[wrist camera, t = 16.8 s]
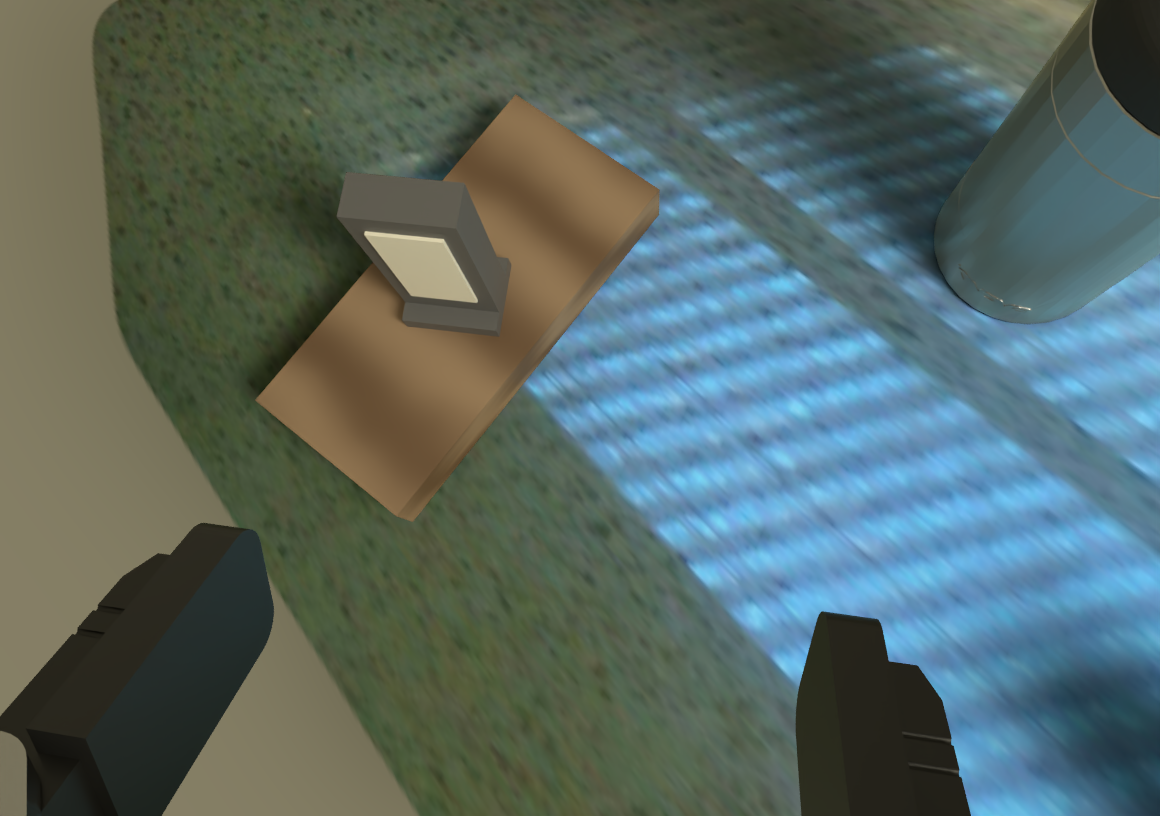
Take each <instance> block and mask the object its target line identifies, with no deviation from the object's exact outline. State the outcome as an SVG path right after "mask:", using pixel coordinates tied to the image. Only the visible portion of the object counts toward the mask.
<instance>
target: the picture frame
mask: <svg viewBox="0 0 1160 816" xmlns="http://www.w3.org/2000/svg"><path fill="white" fill-rule="evenodd" d="M337 218H338V219H339V221H340V222H341V223H342V224H343V225H344V227H345V228H346V229H347V230H348V232H349V233H350V234H351V235H352V237H353V238H354V239H355V240H356V242H357V243H358V244H359V245H360V247H361V248H362V249H363V250H364V252H365V253H366V254H367V255H368V256H369V258H370V259H371V260H372V261H373V263H374V264H375V265H376V266H377V268H378V269H379V270H380V271H381V273H382V274H383V275H384V276H385V278H386V279H387V280H388V281H389V282H390V284H391V285H392V286H393V287H394V289H395V290H396V291H397V292H398V294H399V295H400V296H401V297H402V299H403V300H404V301H405V306H404V312H403V317H402V321H403V322H404V323H405V325H406V326H408V327H417V328H426V329H434V330H443V331H452V332H461V333H470V334H479V335H488V336H497V337H499V336H500V330H501V324H502V319H503V313H504V307H505V301H506V295H507V289H508V283H509V277H510V271H511V263H510V261H509V258H503V257H497V256H496V254H495V251H494V249H493V247H492V244H491V242H490V240H489V238H488V235H487V233H486V231H485V229H484V226H483V224H482V222H481V219H480V217H479V215H478V213H477V210H476V208H475V206H474V204H473V201H472V199H471V197H470V194H469V192H468V190H467V188H466V185H465V183H460V182H449V181H438V180H427V179H416V178H405V177H395V176H384V175H373V174H362V173H351V172H346V175H345V180H344V185H343V189H342V194H341V198H340V203H339V207H338V212H337Z"/></svg>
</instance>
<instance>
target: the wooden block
mask: <svg viewBox="0 0 1160 816" xmlns="http://www.w3.org/2000/svg"><path fill="white" fill-rule="evenodd" d="M442 181H449V182H460V183H465V185H466V188H467V190H468V192H469V194H470V197H471V199H472V201H473V204H474V206H475V208H476V210H477V213H478V215H479V217H480V219H481V222H482V224H483V226H484V229H485V231H486V233H487V235H488V238H489V240H490V242H491V244H492V247H493V249H494V251H495V254H496V256H497V257H503V258H509V261H510V263H511V271H510V277H509V283H508V289H507V295H506V301H505V307H504V313H503V319H502V324H501V330H500V336H499V337H497V336H488V335H479V334H470V333H461V332H452V331H443V330H434V329H426V328H417V327H408V326H406V325H405V323H404V322H403V321H402V317H403V312H404V306H405V301H404V300H403V299H402V297H401V296H400V295H399V294H398V292H397V291H396V290H395V289H394V287H393V286H392V285H391V284H390V282H389V281H388V280H387V279H386V278H385V276H384V275H383V274H382V273H381V271H380V270H379V269H378V268H377V266H376V265H375V264H374V263H372V264H371V265H370V266H369V267H368V268H367V270H366V271H365V272H364V273H363V274H362V275H361V277H360V278H359V279H358V280H357V281H356V283H355V284H354V285H353V286H352V287H351V288H350V290H349V291H348V292H347V293H346V294H345V295H344V297H343V298H342V299H341V300H340V301H339V302H338V304H337V305H336V306H335V307H334V308H333V310H332V311H331V312H330V313H329V314H328V315H327V317H326V318H325V319H324V320H323V321H322V322H321V324H320V325H319V326H318V327H317V328H316V329H315V331H314V332H313V333H312V334H311V335H310V337H309V338H308V339H307V340H306V341H305V342H304V344H303V345H302V346H301V347H300V348H299V349H298V351H297V352H296V353H295V354H294V355H293V356H292V358H291V359H290V360H289V361H288V362H287V364H286V365H285V366H284V367H283V368H282V369H281V371H280V372H279V373H278V374H277V375H276V376H275V378H274V379H273V380H272V381H271V382H270V383H269V385H268V386H267V387H266V388H265V389H264V391H263V392H262V393H261V394H260V395H259V396H258V398H257V399H256V401H257V402H258V403H259V404H260V405H262V406H263V407H264V408H265V409H267V410H268V411H269V412H270V413H271V414H273V415H274V416H275V417H276V418H278V419H279V420H280V421H281V422H282V423H284V424H285V425H286V426H287V427H288V428H290V429H291V430H292V431H293V432H295V433H296V434H297V435H298V436H299V437H301V438H302V439H303V440H304V441H305V442H307V443H308V444H309V445H310V446H312V447H313V448H314V449H315V450H316V451H318V452H319V453H320V454H321V455H323V456H324V457H325V458H326V459H327V460H329V461H330V462H331V463H332V464H333V465H335V466H336V467H337V468H338V469H340V470H341V471H342V472H343V473H344V474H346V475H347V476H348V477H349V478H351V479H352V480H353V481H354V482H355V483H357V484H358V485H359V486H360V487H361V488H363V489H364V490H365V491H366V492H368V493H369V494H370V495H371V496H372V497H374V498H375V499H376V500H377V501H379V502H380V503H381V504H382V505H383V506H385V507H386V508H387V509H388V510H389V511H391V512H392V513H393V514H394V515H396V516H397V517H400V518H403V519H406V520H409V521H411V522H413V521H414V519H415V518H416V517H417V516H418V514H419V513H420V512H421V511H422V510H423V508H424V507H425V506H426V505H427V503H428V502H429V501H430V500H431V498H432V497H433V496H434V495H435V493H436V492H437V491H438V490H439V488H440V487H441V486H442V485H443V483H444V482H445V481H446V480H447V478H448V477H449V476H450V475H451V473H452V472H453V471H454V470H455V468H456V467H457V466H458V465H459V463H460V462H461V461H462V460H463V458H464V457H465V456H466V455H467V453H468V452H469V451H470V450H471V448H472V447H473V446H474V445H475V443H476V442H477V441H478V440H479V438H480V437H481V436H482V435H483V433H484V432H485V431H486V430H487V428H488V427H489V426H490V425H491V423H492V422H493V421H494V420H495V418H496V417H497V416H498V415H499V413H500V412H501V411H502V410H503V408H504V407H505V406H506V405H507V403H508V402H509V401H510V400H511V398H512V397H513V396H514V395H515V393H516V392H517V391H518V390H519V388H520V387H521V386H522V385H523V384H524V382H525V381H526V380H527V379H528V377H529V376H530V375H531V374H532V372H533V371H534V370H535V369H536V367H537V366H538V365H539V364H540V362H541V361H542V360H543V359H544V357H545V356H546V355H547V354H548V352H549V351H550V350H551V349H552V347H553V346H554V345H555V344H556V342H557V341H558V340H559V339H560V337H561V336H562V335H563V334H564V332H565V331H566V330H567V329H568V327H569V326H570V325H571V324H572V322H573V321H574V320H575V319H576V317H577V316H578V315H579V314H580V312H581V311H582V310H583V309H584V307H585V306H586V305H587V304H588V302H589V301H590V300H591V299H592V297H593V296H594V295H595V294H596V292H597V291H598V290H599V289H600V287H601V286H602V285H603V284H604V282H605V281H606V280H607V279H608V277H609V276H610V275H611V274H612V272H613V271H614V270H615V269H616V267H617V266H618V265H619V264H620V262H621V261H622V260H623V259H624V258H625V256H626V255H627V254H628V253H629V251H630V250H631V249H632V248H633V246H634V245H635V244H636V243H637V241H638V240H639V239H640V238H641V236H642V235H643V234H644V233H645V231H646V230H647V229H648V228H649V226H650V225H651V224H652V223H653V221H654V220H655V219H656V218H657V216H658V215H659V189H658V188H656V187H654V186H653V185H651V184H650V183H648V182H647V181H645V180H644V179H642V178H641V177H639V176H638V175H636V174H635V173H633V172H632V171H630V170H629V169H627V168H626V167H624V166H623V165H621V164H620V163H618V162H617V161H615V160H614V159H612V158H611V157H609V156H608V155H606V154H605V153H603V152H602V151H600V150H599V149H597V148H596V147H594V146H593V145H591V144H590V143H588V142H587V141H585V140H584V139H582V138H581V137H579V136H577V135H576V134H574V133H573V132H571V131H570V130H568V129H567V128H565V127H564V126H562V125H561V124H559V123H558V122H556V121H555V120H553V119H552V118H550V117H549V116H547V115H546V114H544V113H543V112H541V111H540V110H538V109H537V108H535V107H534V106H532V105H531V104H529V103H528V102H526V101H525V100H523V99H522V98H520V97H519V96H517V95H515V96H514V97H513V98H512V99H511V101H510V102H509V103H508V104H507V105H506V106H505V108H504V109H503V110H502V111H501V112H500V113H499V115H498V116H497V117H496V118H495V119H494V121H493V122H492V123H491V124H490V125H489V126H488V128H487V129H486V130H485V131H484V132H483V133H482V135H481V136H480V137H479V138H478V139H477V140H476V142H475V143H474V144H473V145H472V146H471V148H470V149H469V150H468V151H467V152H466V153H465V155H464V156H463V157H462V158H461V159H460V160H459V162H458V163H457V164H456V165H455V166H454V167H453V169H452V170H451V171H450V172H449V173H448V175H447V176H446V177H445V178H444V179H443V180H442Z"/></svg>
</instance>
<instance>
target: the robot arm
mask: <svg viewBox="0 0 1160 816" xmlns="http://www.w3.org/2000/svg"><path fill="white" fill-rule="evenodd" d="M934 248H935V254H936V258H937V261H938V265H939V268H940V270H941V272H942V273H943V275H944V277H945V279H946V281H947V282H948V284H949V285H950V286H951V287H952V289H953V290H954V291H955V292H956V293H957V294H958V296H959V297H960V298H962V299H963V300H964V301H966V302H967V303H968V304H969V305H971V306H972V307H973V308H975V309H977V310H979V311H980V312H982V313H984V314H986V315H988V316H990V317H993V318H996V319H1000V320H1003V321H1007V322H1011V323H1021V324H1037V323H1047V322H1051V321H1054V320H1057V319H1060V318H1064V317H1066V316H1068V315H1070V314H1071V313H1073V312H1075V311H1077V310H1079V309H1080V308H1082V307H1083V306H1085V305H1086V304H1088V303H1089V302H1090V301H1092V300H1093V299H1095V298H1096V297H1098V296H1099V295H1101V294H1102V293H1103V292H1105V291H1106V290H1108V289H1109V288H1111V287H1112V286H1114V285H1115V284H1117V283H1119V282H1120V281H1121V280H1123V279H1124V278H1126V277H1127V276H1129V275H1130V274H1132V273H1133V272H1134V271H1136V270H1137V269H1139V268H1140V267H1142V266H1143V265H1144V264H1146V263H1147V262H1149V261H1150V260H1152V259H1153V258H1154V257H1156V256H1157V255H1159V254H1160V0H1091V2H1090V3H1089V4H1088V6H1087V7H1086V9H1085V10H1084V11H1083V13H1082V14H1081V15H1080V17H1079V18H1078V20H1077V21H1076V22H1075V24H1074V25H1073V26H1072V28H1071V29H1070V31H1069V32H1068V34H1067V35H1066V37H1065V38H1064V39H1063V41H1062V42H1061V44H1060V45H1059V46H1058V48H1057V49H1056V50H1055V52H1054V53H1053V55H1052V56H1051V57H1050V59H1049V60H1048V61H1047V63H1046V64H1045V66H1044V67H1043V68H1042V70H1041V71H1040V72H1039V74H1038V75H1037V76H1036V78H1035V79H1034V81H1033V82H1032V83H1031V85H1030V86H1029V87H1028V89H1027V90H1026V92H1025V93H1024V94H1023V96H1022V97H1021V98H1020V100H1019V101H1018V103H1017V104H1016V105H1015V107H1014V108H1013V109H1012V111H1011V112H1010V114H1009V115H1008V116H1007V118H1006V119H1005V120H1004V122H1003V123H1002V124H1001V126H1000V127H999V129H998V130H997V131H996V133H995V134H994V135H993V137H992V138H991V140H990V141H989V142H988V144H987V145H986V146H985V148H984V149H983V151H982V152H981V153H980V155H979V156H978V157H977V159H976V160H975V161H974V162H973V164H972V165H971V167H970V168H969V169H968V171H967V172H966V174H965V175H964V176H963V178H962V179H961V180H960V182H959V183H958V185H957V186H956V187H955V189H954V190H953V192H952V193H951V194H950V196H949V197H948V199H947V200H946V201H945V203H944V204H943V206H942V208H941V211H940V213H939V215H938V217H937V220H936V226H935V231H934ZM273 616H274V606H273V600H272V595H271V591H270V586H269V581H268V577H267V572H266V567H265V562H264V558H263V553H262V548H261V543H260V540H259V537H258V535H257V533H256V532H255V531H253V530H250V529H243V528H236V527H229V526H221V525H215V524H208V523H200V524H198V525H197V526H195V527H194V528H193V529H192V530H191V531H190V532H189V533H188V534H187V536H186V537H185V538H184V539H183V540H182V541H181V543H180V544H179V545H178V546H177V547H176V549H175V550H174V551H173V552H172V553H171V555H166V554H159V553H158V554H156V555H155V556H153V557H152V558H150V559H149V560H147V561H146V562H144V563H143V564H141V565H139V566H138V567H136V568H135V569H133V570H132V571H130V572H129V573H127V574H126V575H124V576H123V577H122V578H121V579H120V580H119V581H118V582H117V584H116V585H115V586H114V587H113V588H112V589H111V591H110V592H109V593H108V594H107V595H106V596H105V597H104V599H103V600H102V601H101V602H100V603H99V604H98V609H97V610H96V611H92V612H91V613H90V614H89V616H88V617H87V618H86V619H85V620H84V621H83V622H82V624H81V625H80V626H79V627H78V631H77V633H76V634H75V635H74V634H72V635H71V636H70V637H69V638H68V639H67V641H66V642H65V643H64V644H63V645H62V647H61V648H60V649H59V650H58V651H57V652H56V653H55V654H54V655H53V657H52V658H51V659H50V660H49V661H48V662H47V664H46V665H45V666H44V667H43V668H42V669H41V670H40V672H39V673H38V674H37V675H36V676H35V677H34V678H33V679H32V681H31V682H30V683H29V684H28V685H27V686H26V687H25V689H24V690H23V691H22V692H21V693H20V694H19V695H18V697H17V698H16V699H15V700H14V701H13V702H12V703H11V705H10V706H9V707H8V708H7V709H6V710H5V712H4V713H3V714H2V715H1V716H0V816H162V814H163V812H164V811H165V809H166V807H167V805H168V804H169V803H170V801H171V799H172V797H173V796H174V794H175V793H176V791H177V789H178V788H179V786H180V784H181V783H182V781H183V780H184V778H185V776H186V774H187V773H188V771H189V770H190V768H191V766H192V765H193V763H194V762H195V760H196V758H197V757H198V755H199V753H200V752H201V750H202V749H203V747H204V745H205V744H206V742H207V740H208V739H209V737H210V735H211V734H212V732H213V731H214V729H215V727H216V726H217V724H218V722H219V721H220V719H221V718H222V716H223V714H224V713H225V711H226V709H227V708H228V706H229V705H230V703H231V701H232V700H233V698H234V696H235V695H236V693H237V691H238V690H239V688H240V686H241V685H242V683H243V681H244V680H245V678H246V677H247V675H248V673H249V672H250V670H251V668H252V667H253V665H254V664H255V662H256V660H257V659H258V657H259V655H260V654H261V652H262V651H263V649H264V647H265V645H266V643H267V640H268V638H269V635H270V632H271V628H272V623H273ZM796 742H797V757H798V771H799V786H800V800H801V815H802V816H971V814H970V810H969V806H968V802H967V798H966V794H965V790H964V786H963V782H962V778H961V777H959V766H958V762H957V758H956V754H955V750H954V746H952V745H951V734H950V730H949V726H948V722H947V718H946V714H945V710H944V706H943V702H942V700H941V698H940V697H939V695H938V694H937V692H936V691H935V690H934V688H933V687H932V685H931V684H930V683H929V681H928V680H927V678H926V677H925V675H924V674H923V673H922V671H921V670H920V668H919V667H918V666H917V665H910V664H903V663H896V662H889V661H888V655H887V650H886V645H885V640H884V635H883V630H882V626H881V623H880V622H879V620H878V619H872V618H865V617H858V616H851V615H844V614H837V613H830V612H821V613H820V614H819V616H818V619H817V622H816V626H815V630H814V633H813V637H812V641H811V645H810V648H809V652H808V656H807V659H806V663H805V667H804V671H803V674H802V678H801V682H800V686H799V691H798V698H797V707H796Z"/></svg>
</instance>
